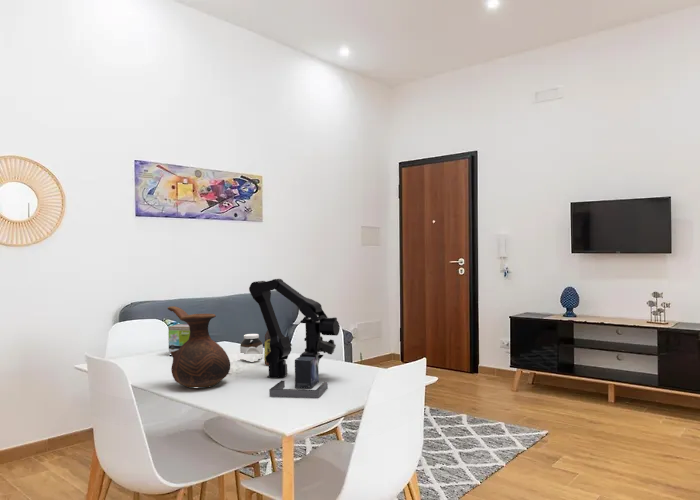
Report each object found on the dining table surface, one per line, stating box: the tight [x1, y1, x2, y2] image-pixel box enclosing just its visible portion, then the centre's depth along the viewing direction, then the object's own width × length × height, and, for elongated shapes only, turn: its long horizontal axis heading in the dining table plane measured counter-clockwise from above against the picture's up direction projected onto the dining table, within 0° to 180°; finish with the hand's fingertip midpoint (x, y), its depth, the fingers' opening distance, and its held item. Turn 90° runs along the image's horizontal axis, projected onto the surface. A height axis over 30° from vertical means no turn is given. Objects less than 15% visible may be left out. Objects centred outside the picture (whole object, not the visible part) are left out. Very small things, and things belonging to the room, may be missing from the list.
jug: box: [167, 305, 231, 388], centre depth 209 cm, size 22×22×30 cm
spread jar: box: [239, 333, 264, 355], centre depth 253 cm, size 12×11×12 cm
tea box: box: [167, 323, 190, 355], centre depth 272 cm, size 15×10×15 cm, turn 81°
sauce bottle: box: [263, 330, 271, 366], centre depth 243 cm, size 6×6×20 cm
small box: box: [294, 356, 320, 390], centre depth 203 cm, size 11×6×10 cm, turn 167°
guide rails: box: [268, 379, 329, 399], centre depth 193 cm, size 17×13×2 cm
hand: (314, 374), depth 213 cm, fingers closed on small box
